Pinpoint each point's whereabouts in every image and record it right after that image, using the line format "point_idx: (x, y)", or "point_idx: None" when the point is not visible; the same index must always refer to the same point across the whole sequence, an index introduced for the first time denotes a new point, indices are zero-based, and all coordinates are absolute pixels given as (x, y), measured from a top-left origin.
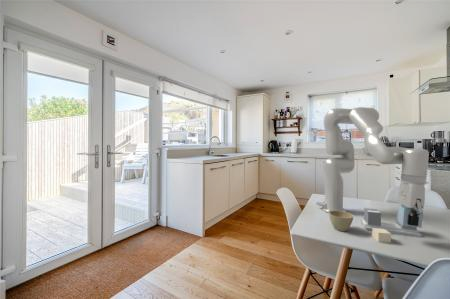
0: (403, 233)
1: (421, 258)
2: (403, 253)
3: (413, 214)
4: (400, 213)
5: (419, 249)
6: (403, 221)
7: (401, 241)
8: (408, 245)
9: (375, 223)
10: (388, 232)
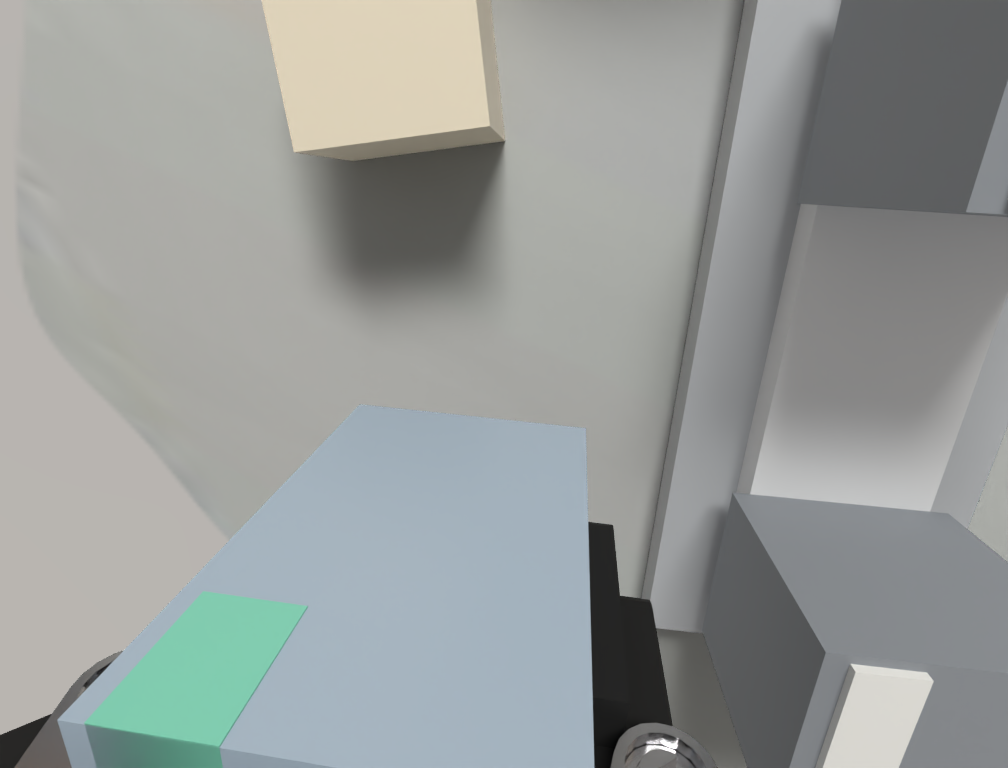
0: (671, 459)
1: (79, 319)
2: (106, 183)
3: (32, 728)
4: (454, 543)
5: (294, 413)
6: (327, 447)
7: (449, 325)
8: (356, 350)
9: (837, 102)
10: (325, 125)
